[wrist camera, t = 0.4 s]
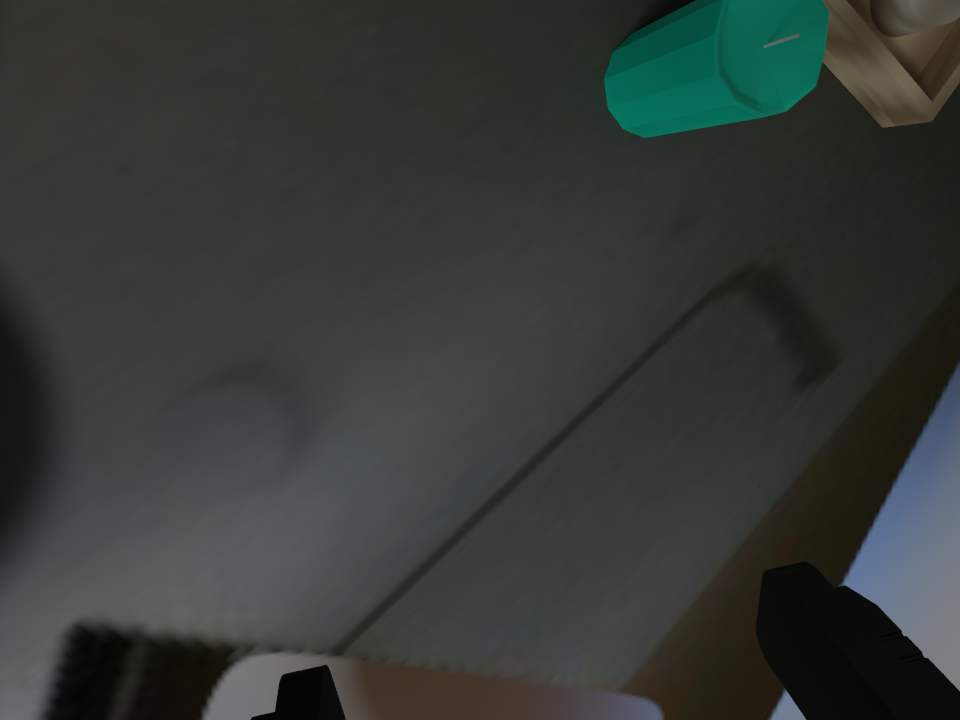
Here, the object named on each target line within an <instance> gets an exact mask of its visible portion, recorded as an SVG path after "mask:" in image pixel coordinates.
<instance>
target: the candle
mask: <svg viewBox="0 0 960 720" xmlns="http://www.w3.org/2000/svg"><path fill="white" fill-rule="evenodd" d="M828 20H829V11H828V9H827V8H826V6H825V4H824V2H823V1H822V0H696V1H694V2H692V3H690V4H688V5H686V6H684V7H682V8H680V9H678V10H676V11H674V12H672V13H671V14H669V15H667V16H665V17H663V18H661V19H659V20H657V21H655V22H653V23H651V24H649V25H647V26H645V27H644V28H642V29H640V30H638V31H636V32H634V33H632V34H631V35H630V36H629V37H628V38H627V39H626V40H625V41H624V42H623V43H622V44H621V45H620V46H619V47H618V48H617V49H616V50H615V51H614V52H613V54H612V57H611V60H610V63H609V66H608V69H607V72H606V75H605V78H604V82H605V90H606V97H607V105H608V109H609V110H610V111H611V113H612V114H613V116H614V117H615V118H616V120H617V121H618V123H619V124H620V126H621V127H622V128H623V129H624V130H627V131H629V132H632V133H634V134H636V135H639V136H641V137H644V138H647V137H653V136H658V135H664V134H670V133H676V132H681V131H687V130H693V129H699V128H704V127H710V126H716V125H722V124H727V123H733V122H739V121H745V120H750V119H756V118H762V117H766V116H770V115H774V114H778V113H782V112H786V111H787V110H788V109H789V108H791V107H792V106H793V105H794V104H795V103H797V102H798V101H799V100H800V99H802V98H803V97H804V96H805V95H806V94H808V93H809V92H810V91H811V90H812V89H814V88H815V87H816V84H817V80H818V76H819V72H820V69H821V65H822V61H823V58H824V54H825V47H826V38H827V29H828Z"/></svg>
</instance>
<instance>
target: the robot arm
mask: <svg viewBox="0 0 960 720" xmlns="http://www.w3.org/2000/svg"><path fill="white" fill-rule="evenodd" d="M756 633H757V638H758V642H759V645H760V648H761V651H762V653H763V655H764V657H765V659H766V661H767V662H768V664H769V665H770V667H771V668H772V670H773V671H774V673H775V674H776V676H777V677H778V679H779V680H780V682H781V683H782V684H783V686H784V687H785V689H786V690H787V692H788V693H789V695H790V696H791V698H792V699H793V701H794V702H795V704H796V705H797V706H798V708H799V709H800V711H801V712H802V714H803V715H804V717H805V718H806V720H960V691H959V690H958V689H957V688H956V687H955V686H954V685H953V684H952V683H951V682H950V681H949V680H948V679H947V678H946V677H945V675H944V674H943V673H941V671H940V670H939V669H938V668H937V667H936V666H935V665H934V664H933V663H932V662H931V661H930V660H929V659H928V658H924V656H923V654H922V652H921V650H920V649H919V648H918V647H917V646H916V645H915V644H914V643H913V642H912V641H911V640H910V639H909V638H908V637H907V636H903V634H902V631H901V630H900V629H899V628H898V627H897V626H896V624H895V623H894V622H893V621H891V619H890V618H889V617H888V616H887V615H886V614H885V613H884V612H883V611H882V610H881V609H880V608H879V607H878V606H877V605H876V604H874V603H873V602H871V601H869V600H868V599H866V598H865V597H863V596H861V595H860V594H858V593H857V592H855V591H853V590H852V589H850V588H849V587H847V586H840V587H836V588H834V587H833V586H832V585H831V584H830V583H829V582H828V581H827V579H826V578H825V577H824V576H823V575H822V574H821V573H820V572H819V571H818V570H817V569H816V568H815V567H814V566H813V565H812V564H810V563H807V562H801V563H796V564H792V565H787V566H782V567H778V568H773V569H769V570H766V571H765V572H764V573H763V576H762V582H761V590H760V598H759V606H758V614H757V622H756ZM251 720H346V719H345V715H344V712H343V709H342V706H341V703H340V700H339V697H338V694H337V691H336V688H335V685H334V682H333V679H332V675H331V672H330V669H329V667H328V666H327V665H323V666H319V667H314V668H310V669H305V670H301V671H296V672H291V673H287V674H284V675H282V677H281V679H280V683H279V689H278V695H277V702H276V709H275V712H273V713H268V714H264V715H259V716H255V717H252V719H251Z"/></svg>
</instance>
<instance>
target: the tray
mask: <svg viewBox="0 0 960 720" xmlns="http://www.w3.org/2000/svg"><path fill="white" fill-rule="evenodd" d="M822 1H823V2H824V4H825V6H826V8H827V9H828V11H829V20H828V29H827V38H826V47H825V54H824V58H823V61H822V62H823V63H824V64H825V65H826V66H827V67H828V68H829V69H830V70H831V72H832V73H833V74H834V75H835V76H836V77H837V78H838V79H839V80H840V81H841V83H842V84H843V85H844V86H845V87H846V88H847V89H848V90H849V91H850V92H851V94H852V95H853V96H854V97H855V98H856V99H857V100H858V101H859V102H860V103H861V105H862V106H863V107H864V108H865V109H866V110H867V111H868V112H869V113H870V114H871V116H872V117H873V118H874V119H875V120H876V121H877V122H878V123H879V124H880V125H881V127H882V128H883V127H891V126H900V125H908V124H916V123H925V122H932V120H933V119H934V118H935V116H936V115H937V113H938V112H939V110H940V109H941V108H942V106H943V105H944V103H945V102H946V101H947V99H948V98H949V96H950V95H951V94H952V92H953V91H954V89H955V88H956V87H957V85H958V84H959V82H960V0H822Z"/></svg>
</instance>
